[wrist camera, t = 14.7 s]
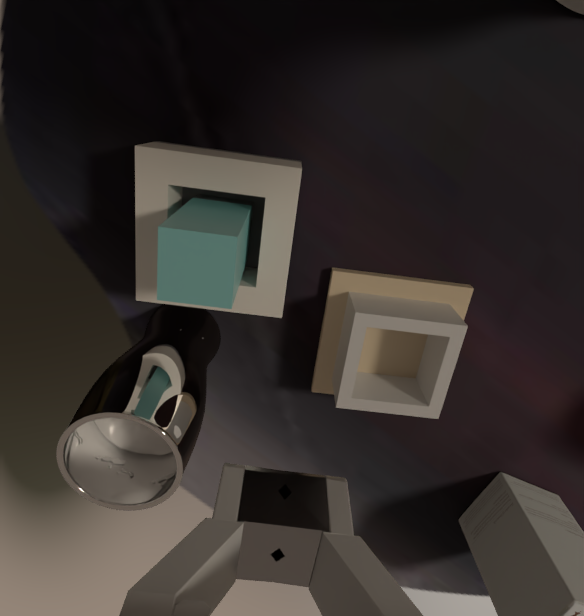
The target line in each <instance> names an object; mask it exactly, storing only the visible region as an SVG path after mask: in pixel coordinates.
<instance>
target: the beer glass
mask: <svg viewBox="0 0 584 616" xmlns="http://www.w3.org/2000/svg"><path fill="white" fill-rule="evenodd" d="M220 341H221V336H220V330H219V327H218V324H217V322H216V321H215V319H214V318H213V317H212V315H211V314H210V313H209V312H207V311H206V310H205V309H203V308H195V307H186V306H178V305H170V304H166V305H164V306H162V307H160V308H159V309H157V310H156V311H155V312H154V313H153V315H152V316H151V317H150V319H149V321H148V323H147V326H146V330H145V334H144V337H143V338H142V339H141V340H140V341H139V342H138V343H137V344H135V345H134V346H133V347H132V348H130V349H129V350H128V351H127V352H125V353H124V354H123V355H122V356H120V357H119V358H118V359H117V360H116V361H115V362H114V363H113V364H111V365H110V366H109V368H107V369H106V370H105V371H104V372H103V374H102V375H101V376H100V377H99V379H98V380H97V381H96V382H95V384H94V385H93V386H92V388H91V389H90V391H89V392H88V394H87V395H86V396H85V398H84V399H83V401H82V403H81V404H80V406H79V408H78V410H77V411H76V413H75V415H74V416H73V418H72V420H71V422H70V424H69V426H68V427H67V429H66V430H65V431H64V433H63V434H62V436H61V438H60V440H59V443H58V446H57V462H58V466H59V469H60V471H61V474H62V475H63V477H64V479H65V480H66V481H67V483H68V484H69V485H70V486H71V487H72V488H73V489H74V490H75V491H76V492H77V493H79V494H80V495H81V496H83V497H84V498H86V499H88V500H89V501H91V502H93V503H96V504H98V505H101V506H104V507H107V508H111V509H116V510H128V511H129V510H141V509H146V508H150V507H153V506H156V505H158V504H160V503H162V502H164V501H165V500H166V499H168V498H169V497H170V496H171V495H172V494H173V493H174V492H175V491H176V489H177V488H178V486H179V484H180V482H181V479H182V476H183V473H184V470H185V468H186V466H187V464H188V461H189V459H190V457H191V454H192V452H193V449H194V447H195V444H196V441H197V438H198V436H199V433H200V429H201V425H202V421H203V417H204V413H205V404H206V386H207V366H208V364H209V363H210V362H211V361H212V359H213V358H214V357H215V355H216V353H217V351H218V349H219V346H220Z"/></svg>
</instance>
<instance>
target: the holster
mask: <svg viewBox="0 0 584 616" xmlns="http://www.w3.org/2000/svg"><path fill="white" fill-rule="evenodd" d="M473 289H474V288H473V287H472V286H471V285H467V284H459V283H451V282H443V281H435V280H427V279H419V278H412V277H404V276H396V275H388V274H380V273H372V272H364V271H356V270H348V269H341V268H333V267H332V271H331V277H330V283H329V288H328V294H327V300H326V305H325V311H324V317H323V323H322V328H321V334H320V340H319V345H318V351H317V357H316V363H315V368H314V374H313V380H312V385H311V390H312V392H317V393H326V394H334V397H335V404H336V408H345V409H354V410H363V411H372V412H381V413H390V414H399V415H408V416H417V417H426V418H435V419H438V418H439V415H440V412H441V409H442V406H443V403H444V400H445V396H446V393H447V390H448V387H449V384H450V381H451V378H452V374H453V371H454V368H455V365H456V362H457V359H458V356H459V353H460V349H461V346H462V343H463V340H464V337H465V334H466V331H467V327H468V326H467V324H466V323H465V322H464V318H465V315H466V312H467V309H468V305H469V302H470V299H471V296H472V293H473Z"/></svg>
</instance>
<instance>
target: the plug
mask: <svg viewBox="0 0 584 616" xmlns="http://www.w3.org/2000/svg"><path fill="white" fill-rule="evenodd" d="M253 205H254V202H253V201H246V200H238V199H231V198H224V197H216V196H209V195H201V194H197V195H195V196H194V197H193V198H192V199H191V200H189V201H188V202H187V203H186V204H185V205H183V206H182V207H181V208H180V209H179V210H177V211H176V212H175V213H174V214H173V215H171V216H170V217H169V218H168V219H167V220H165V221H164V222H163V223H162V224H160V225H159V226H158V258H157V300H161V301H169V302H177V303H185V304H193V305H202V306H210V307H218V308H226V309H232V306H233V303H234V300H235V297H236V294H237V290H238V287H239V284H240V281H241V278H242V275H243V271H244V268H245V265H246V262H247V259H248V256H249V246H250V235H251V225H252V215H253Z"/></svg>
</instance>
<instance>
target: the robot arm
mask: <svg viewBox="0 0 584 616" xmlns="http://www.w3.org/2000/svg"><path fill="white" fill-rule="evenodd" d="M556 1H558V2H559V3H560V4H562V5H564V6H565V7H567V8H569V9H571V10H573V11H575V12H577V13H580V14H583V15H584V0H556ZM244 471H245V473H244ZM243 479H244V480H243ZM236 579H243V580H255V581H267V582H272V581H273V582H276V583H283V584H290V585H297V586H304V587H309V591H310V593H311V595H312V597H313V598H314V600H315V602H316V604H317V606H318V608H319V610H320V612H321V614H322V616H423V615H422V614H421V612H420V611H419V610H418V609H417V607H416V606H415V605H414V604H413V602H412V601H411V600H410V599H409V597H408V596H407V595H406V594H405V592H404V591H403V590H402V589H401V587H400V586H399V585H398V583H397V582H396V581H395V580H394V578H393V577H392V576H391V575H390V573H389V572H388V571H387V570H386V568H385V567H384V566H383V565H382V563H381V562H380V561H379V559H378V558H377V557H376V556H375V554H374V553H373V552H372V551H371V549H370V548H369V547H368V546H367V544H366V543H365V542H364V541H363V539H362V538H361V537H360V536H354V532H353V524H352V516H351V509H350V501H349V493H348V486H347V480H346V479H345V478H342V477H333V476H324V475H315V474H307V473H298V472H289V471H280V470H273V469H266V468H260V467H253V466H246V467H245V466H243V465H237V464H230V463H225V464H224V466H223V470H222V474H221V479H220V484H219V489H218V493H217V498H216V503H215V507H214V512H213V517H212V519H211V518H205V519H204V520H203V521H202V522H201V523H200V524H199V525H198V526H197V527H196V528H195V529H194V530H193V531H192V532H191V533H189V534H188V535H187V536H186V537H185V538H184V539H183V540H182V541H181V542H180V543H179V544H178V545H177V546H175V547H174V548H173V549H172V550H171V551H170V552H169V553H168V554H167V555H166V556H165V557H164V558H163V559H162V560H161V561H160V562H158V564H157V565H155V566H154V567H153V568H152V569H151V570H150V571H149V572H148V573H147V574H146V575H145V576H144V577H142V578H141V579H140V580H139V581H138V582H137V583H136V584H135V585H134V586H133V587H132V588H131V589H130V590H129V591H128V593H127V596H126V599H125V601H124V604H123V607H122V610H121V613H120V615H119V616H210V615H211V613H212V612H213V611H214V609H215V608H216V607H217V605H218V604H219V603H220V601H221V600H222V599H223V597H224V596H225V595H226V593H227V592H228V591H229V589H230V588H231V587H232V585H233V584H234V582H235V580H236Z"/></svg>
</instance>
